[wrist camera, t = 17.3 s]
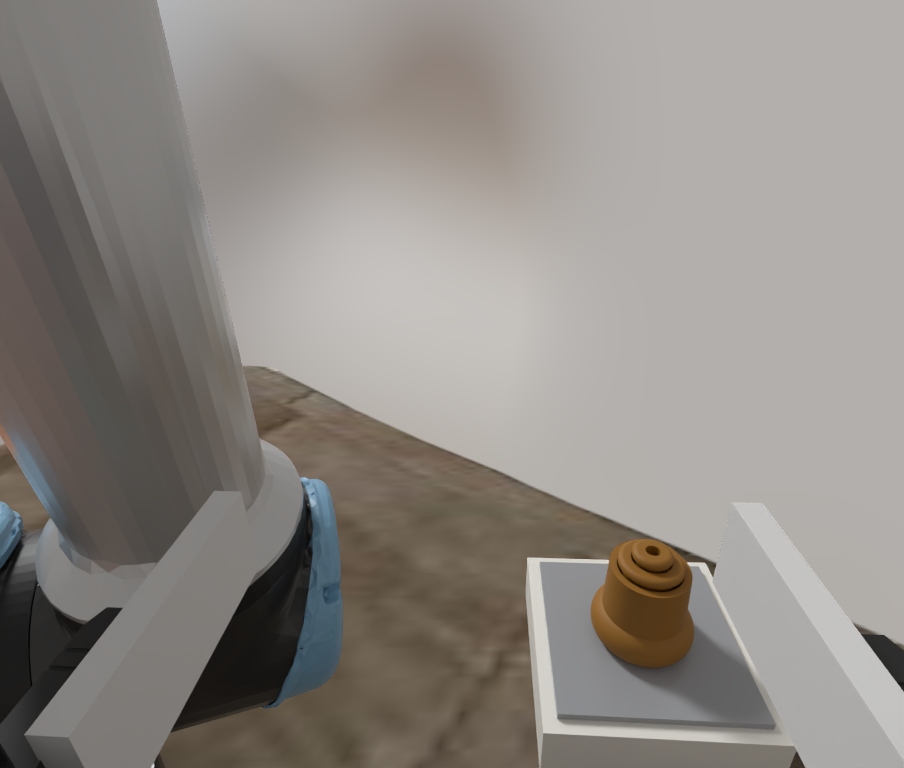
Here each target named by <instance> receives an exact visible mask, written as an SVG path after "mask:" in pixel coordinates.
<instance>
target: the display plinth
mask: <svg viewBox="0 0 904 768" xmlns="http://www.w3.org/2000/svg"><path fill="white" fill-rule="evenodd" d="M687 563H688V565H689V567H690V569H691V571H692V575H693V581H692V587H691V593H690V599H689V605H688V610H689V612H690V614H691V617H692V620H693V624H694V639H693V643H692V646H691V648H690V650H689V651H688V653H687V654H686V655H685V656H684V657H683V658H682V659H681V660H680V661H678V662H676V663H674V664H672V665H670V666H666V667H661V668H647V667H641V666H637V665H634V664H631V663H629V662H626V661H624V660H623V659H621V658H619V657H618V656H616V655H615V654H613V653H612V652H611V651H610V650H609V649H608V648H607V647H606V646H605V645H604V644H603V643H602V642H601V640H600V639H599V637H598V636H597V634H596V632H595V630H594V628H593V625H592V621H591V603H592V600H593V597H594V595H595V593H596V592H597V591H598V589H599V588H600V587H601V586H602V585H604V584H605V580H606V574H607V569H608V564H609V560H589V559H556V558H527V578H526V604H527V616H528V629H529V642H530V654H531V667H532V680H533V693H534V705H535V718H536V731H537V744H538V756H539V768H790V765H791V763H792V760H793V758H794V755H795V753H796V751H797V750H796V748H795V746H794V744H793V742H792V740H791V738H790V736H789V734H788V732H787V730H786V728H785V726H784V724H783V722H782V720H781V718H780V716H779V714H778V712H777V710H776V708H775V706H774V704H773V702H772V700H771V698H770V696H769V694H768V692H767V690H766V688H765V686H764V684H763V682H762V680H761V678H760V676H759V674H758V672H757V670H756V668H755V666H754V664H753V662H752V660H751V658H750V656H749V654H748V652H747V650H746V648H745V646H744V644H743V642H742V640H741V638H740V636H739V634H738V632H737V630H736V628H735V626H734V624H733V622H732V620H731V618H730V616H729V614H728V612H727V610H726V608H725V606H724V604H723V602H722V600H721V598H720V596H719V594H718V592H717V590H716V588H715V586H714V584H713V582H712V581H713V577H712V575H711V573H710V571H709V569H708V567H707V565H706V563H690V562H687Z"/></svg>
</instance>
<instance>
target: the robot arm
mask: <svg viewBox="0 0 904 768" xmlns="http://www.w3.org/2000/svg"><path fill="white" fill-rule="evenodd" d="M0 436H1V437H2V439H3V441H4V442H5V444H6V446H7V447H8V449H9V450H10V452H11V454H12V455H13V457H14V459H15V460H16V462H17V464H18V465H19V467H20V468H21V470H22V472H23V473H24V475H25V477H26V478H27V480H28V481H29V483H30V485H31V486H32V488H33V490H34V491H35V493H36V495H37V496H38V498H39V499H40V501H41V503H42V504H43V506H44V508H45V509H46V511H47V512H48V514H49V516H50V519H49V520H48V522H47V524H46V525H45V527H44V529H39V530H32V531H26V530H23V520H22V518H21V517H20V515H19V513H17V512H14V511H12V510H11V509H10V508H9V506H8V505H7V504H5V503H3V502H0V768H164V765H163V762H162V759H161V756H160V754H159V752H160V750H161V748H162V746H163V744H164V743H165V741H166V739H167V737H168V735H169V733H171V732H174V731H178V730H181V729H184V728H188V727H191V726H195V725H198V724H202V723H205V722H209V721H212V720H216V719H219V718H223V717H226V716H230V715H233V714H237V713H240V712H244V711H247V710H251V709H254V708H258V707H263V708H273V707H276V706H278V705H279V704H280V703H282V702H283V701H284V700H285V699H287V698H290V697H293V696H296V695H299V694H301V693H304V692H307V691H310V690H313V689H316V688H318V687H320V686H321V685H323V684H324V683H326V682H327V681H328V680H329V679H330V678H331V676H332V675H333V674H334V672H335V670H336V668H337V666H338V663H339V660H340V655H341V648H342V634H343V607H342V595H341V590H340V584H341V579H340V573H341V564H340V552H339V542H338V533H337V525H336V518H335V512H334V507H333V502H332V497H331V494H330V491H329V488H328V486H327V485H326V484H325V483H324V482H323V481H321V480H319V479H307V478H305V477H303V478H301V477H299V475H298V473H297V470H296V468H295V467H294V465H293V463H292V461H291V460H290V459H289V458H288V457H287V456H286V455H285V454H284V453H283V452H282V451H280V450H279V449H278V448H276V447H275V446H273V445H271V444H270V443H268V442H266V441H263V440H261V439H259V435H258V431H257V427H256V423H255V418H254V414H253V410H252V405H251V401H250V397H249V393H248V388H247V384H246V380H245V376H244V371H243V367H242V363H241V359H240V354H239V350H238V346H237V342H236V337H235V333H234V329H233V324H232V320H231V316H230V312H229V307H228V303H227V299H226V294H225V290H224V286H223V282H222V278H221V273H220V269H219V265H218V260H217V256H216V252H215V248H214V243H213V239H212V235H211V230H210V226H209V222H208V218H207V213H206V209H205V205H204V201H203V196H202V192H201V188H200V183H199V179H198V175H197V171H196V167H195V162H194V158H193V154H192V149H191V145H190V141H189V136H188V132H187V128H186V124H185V120H184V115H183V111H182V107H181V103H180V98H179V94H178V90H177V85H176V81H175V77H174V72H173V68H172V64H171V60H170V56H169V51H168V47H167V42H166V38H165V34H164V30H163V25H162V21H161V17H160V13H159V8H158V4H157V0H0ZM712 582H713V584H714V586H715V588H716V590H717V592H718V594H719V596H720V598H721V600H722V602H723V604H724V606H725V608H726V610H727V612H728V614H729V616H730V618H731V620H732V622H733V624H734V626H735V628H736V630H737V632H738V634H739V636H740V638H741V640H742V642H743V644H744V646H745V648H746V650H747V652H748V654H749V656H750V658H751V660H752V662H753V664H754V666H755V668H756V670H757V672H758V674H759V676H760V678H761V680H762V682H763V684H764V686H765V688H766V690H767V692H768V694H769V696H770V698H771V700H772V702H773V704H774V706H775V708H776V710H777V712H778V714H779V716H780V718H781V720H782V722H783V724H784V726H785V728H786V730H787V732H788V734H789V736H790V738H791V740H792V742H793V744H794V746H795V748H796V750H797V752H798V754H799V756H800V758H801V760H802V762H803V764H804V766H805V768H904V651H903V650H902V649H901V648H900V647H898V646H897V645H896V644H894V643H893V642H892V641H891V640H889V639H888V638H887V637H886V636H884V635H865V634H860V633H859V631H858V630H857V629H856V627H855V626H854V625H853V623H852V622H851V621H850V619H849V618H848V617H847V615H846V614H845V613H844V611H843V610H842V609H841V608H840V606H839V605H838V603H837V602H836V601H835V599H834V598H833V597H832V595H831V594H830V593H829V591H828V590H827V589H826V587H825V586H824V585H823V583H822V582H821V581H820V579H819V578H818V577H817V575H816V574H815V573H814V571H813V570H812V569H811V567H810V566H809V565H808V563H807V562H806V560H805V559H804V558H803V557H802V555H801V554H800V552H799V551H798V550H797V548H796V547H795V546H794V544H793V543H792V542H791V540H790V539H789V538H788V537H787V535H786V534H785V532H784V531H783V530H782V528H781V527H780V526H779V525H778V523H777V522H776V520H775V519H774V518H773V516H772V515H771V514H770V512H769V511H768V510H767V508H766V507H765V506H764V504H763V503H740V502H732V504H731V508H730V512H729V516H728V521H727V525H726V528H725V532H724V536H723V541H722V545H721V549H720V553H719V557H718V561H717V565H716V569H715V573H714V577H713V581H712Z"/></svg>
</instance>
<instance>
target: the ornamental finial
mask: <svg viewBox="0 0 904 768" xmlns="http://www.w3.org/2000/svg"><path fill="white" fill-rule="evenodd" d="M692 581H693V575H692V571H691V569H690V567H689V565H688V563H687V562H686V561H685V560H684V559H683V558H682V557H681V556H680V555H679V554H678V553H677V552H675V551H674V550H673V549H672V548H670V547H668V546H667V545H665V544H663V543H661V542H659V541H656V540H650V539H637V540H632V541H628V542H624V543H622V544H620V545H618V546H617V547H616V548H614V550H613V551H612V553H611V555H610V559H609V564H608V569H607V574H606V580H605V584H604V585H602V586H601V587H600V588H599V589H598V591H597V592H596V593H595V595H594V597H593V600H592V603H591V621H592V625H593V628H594V630H595V632H596V634H597V636H598V637H599V639H600V640H601V642H602V643H603V644H604V645H605V646H606V647H607V648H608V649H609V650H610V651H611V652H612V653H613V654H615V655H616V656H618V657H619V658H621V659H623V660H624V661H626V662H629V663H631V664H634V665H637V666H641V667H647V668H661V667H666V666H670V665H672V664H674V663H676V662H678V661H680V660H681V659H682V658H683V657H684V656H685V655H686V654H687V653H688V651H689V650H690V648H691V646H692V643H693V639H694V624H693V620H692V617H691V614H690V612H689V610H688V605H689V599H690V593H691V587H692Z"/></svg>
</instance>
